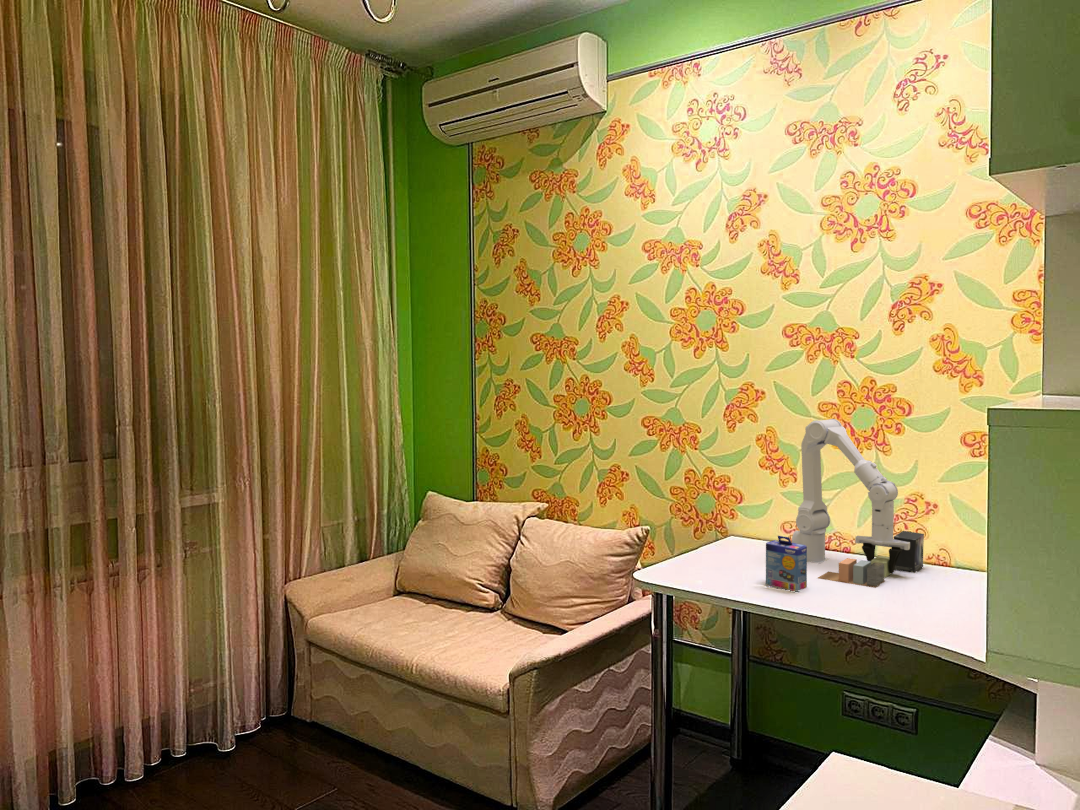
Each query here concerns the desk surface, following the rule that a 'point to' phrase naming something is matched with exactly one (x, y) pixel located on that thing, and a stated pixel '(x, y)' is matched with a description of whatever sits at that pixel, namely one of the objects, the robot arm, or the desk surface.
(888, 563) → the sage book
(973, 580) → the desk surface
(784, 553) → the ink cartridge box
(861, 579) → the grey-blue block
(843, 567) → the terracotta book
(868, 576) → the steel bookend
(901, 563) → the small box
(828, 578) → the walnut board
